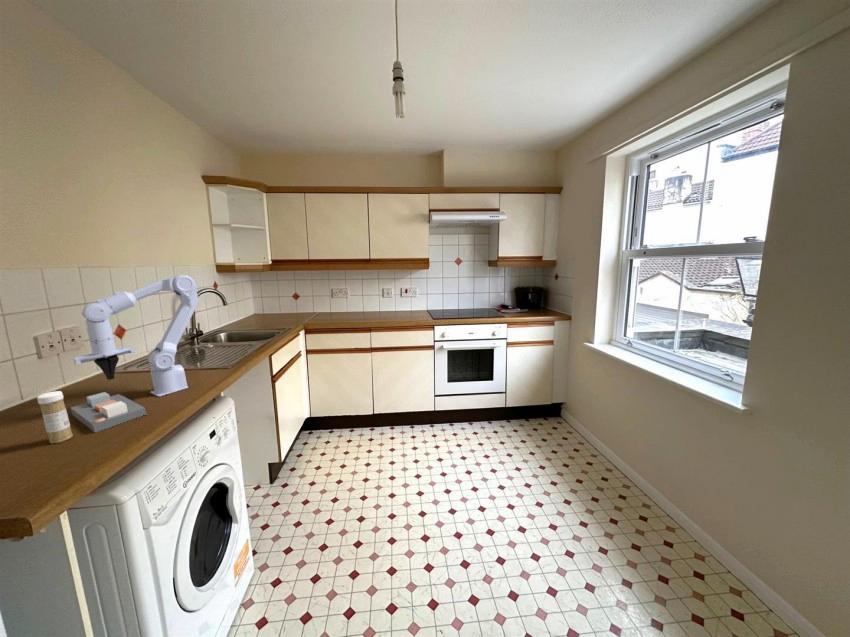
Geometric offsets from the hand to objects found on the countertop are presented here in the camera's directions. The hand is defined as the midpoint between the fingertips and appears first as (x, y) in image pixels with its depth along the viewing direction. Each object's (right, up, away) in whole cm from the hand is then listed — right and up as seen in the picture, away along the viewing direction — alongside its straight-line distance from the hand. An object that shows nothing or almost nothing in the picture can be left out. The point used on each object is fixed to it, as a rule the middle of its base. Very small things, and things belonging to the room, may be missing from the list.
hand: (110, 378), depth 112 cm
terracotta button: (+5, -10, -6) cm, 13 cm away
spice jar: (+5, -13, -20) cm, 25 cm away
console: (+5, -11, -6) cm, 13 cm away
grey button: (-1, -8, -2) cm, 9 cm away
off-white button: (+11, -9, -10) cm, 18 cm away
